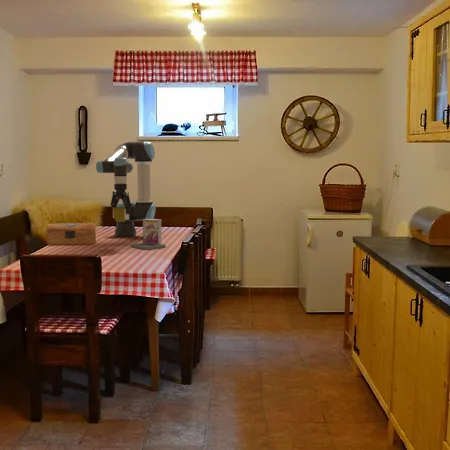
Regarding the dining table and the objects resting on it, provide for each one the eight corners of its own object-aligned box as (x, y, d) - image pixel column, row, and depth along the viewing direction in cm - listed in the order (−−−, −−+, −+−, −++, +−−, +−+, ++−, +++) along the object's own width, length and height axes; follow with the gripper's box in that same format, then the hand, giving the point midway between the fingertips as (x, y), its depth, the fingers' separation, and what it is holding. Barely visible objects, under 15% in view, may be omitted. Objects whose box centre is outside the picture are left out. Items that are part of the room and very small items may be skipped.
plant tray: (131, 248, 375) (131, 244, 375) (150, 246, 385) (150, 242, 385) (146, 251, 364) (146, 246, 364) (165, 248, 375) (165, 244, 375)
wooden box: (46, 247, 378) (45, 225, 377) (48, 243, 395) (48, 222, 393) (95, 246, 384) (95, 224, 383) (96, 243, 400) (95, 222, 399)
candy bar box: (142, 244, 393) (142, 219, 391) (146, 243, 397) (145, 218, 396) (158, 245, 389) (158, 219, 387) (161, 244, 394) (161, 219, 392)
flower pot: (114, 221, 377) (114, 206, 376) (128, 221, 378) (128, 206, 377) (112, 222, 369) (112, 207, 368) (127, 222, 369) (127, 207, 368)
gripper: (104, 182, 377) (104, 217, 379) (126, 184, 360) (127, 220, 362) (114, 182, 382) (115, 217, 384) (137, 183, 365) (137, 219, 367)
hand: (120, 218), depth 373 cm, fingers closed on flower pot, 12 cm apart
